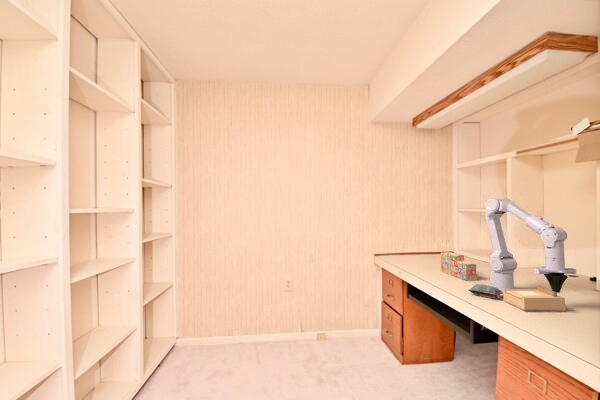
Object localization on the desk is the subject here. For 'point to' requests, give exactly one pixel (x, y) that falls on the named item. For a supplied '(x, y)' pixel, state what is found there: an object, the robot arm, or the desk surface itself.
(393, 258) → the desk surface
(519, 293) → the lid
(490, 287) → the packaged food
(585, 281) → the desk surface
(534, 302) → the light brown rectangular box
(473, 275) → the stack of blocks
